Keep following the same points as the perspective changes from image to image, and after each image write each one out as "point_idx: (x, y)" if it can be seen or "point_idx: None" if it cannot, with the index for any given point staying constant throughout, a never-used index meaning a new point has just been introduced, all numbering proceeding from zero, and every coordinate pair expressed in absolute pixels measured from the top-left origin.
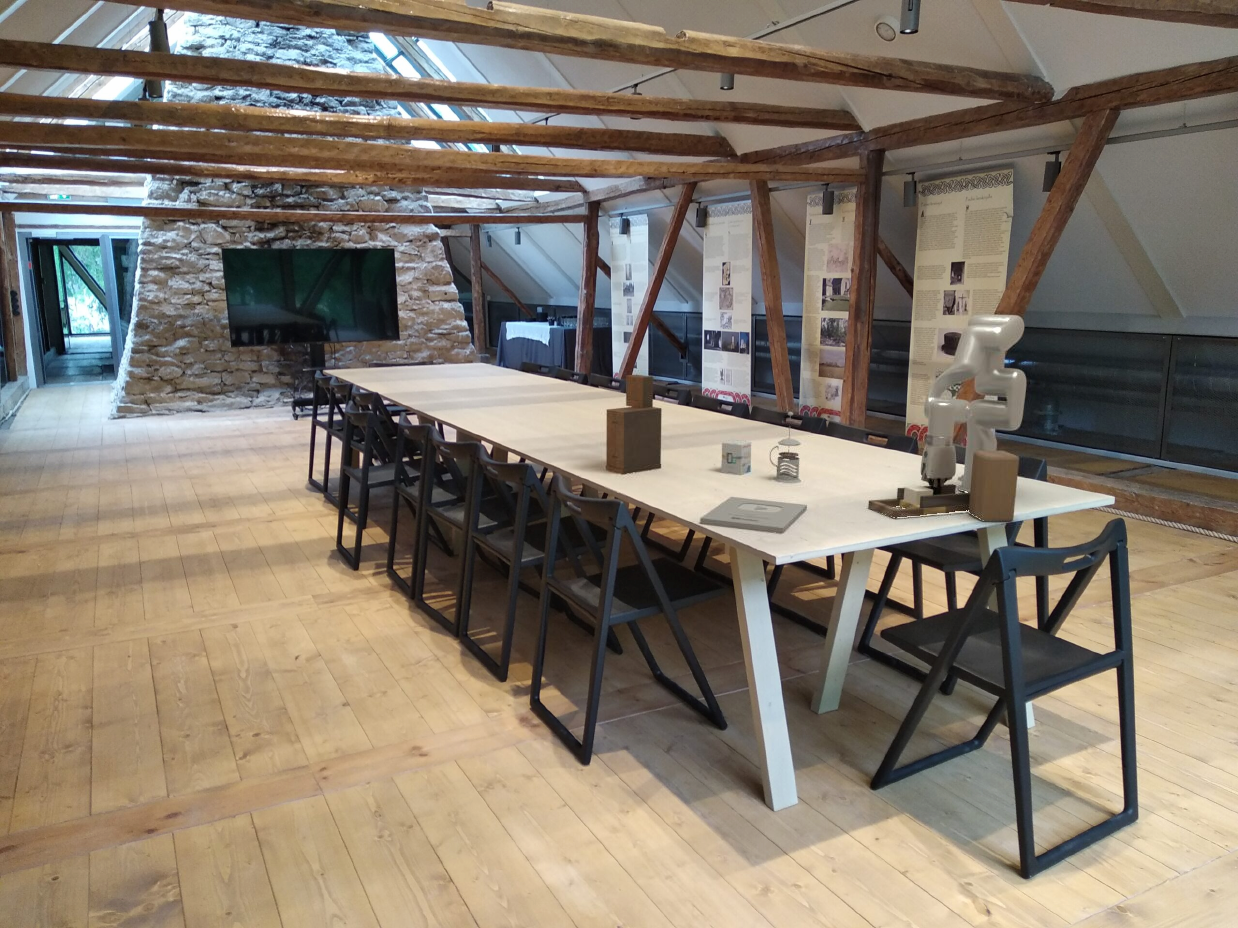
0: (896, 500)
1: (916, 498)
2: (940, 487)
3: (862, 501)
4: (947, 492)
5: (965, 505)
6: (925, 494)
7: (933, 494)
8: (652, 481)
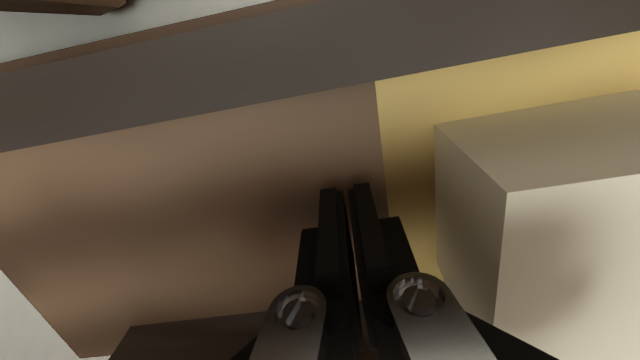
0: None
1: None
2: (335, 269)
3: None
4: (177, 343)
5: (119, 37)
6: (604, 146)
7: (399, 224)
8: None
